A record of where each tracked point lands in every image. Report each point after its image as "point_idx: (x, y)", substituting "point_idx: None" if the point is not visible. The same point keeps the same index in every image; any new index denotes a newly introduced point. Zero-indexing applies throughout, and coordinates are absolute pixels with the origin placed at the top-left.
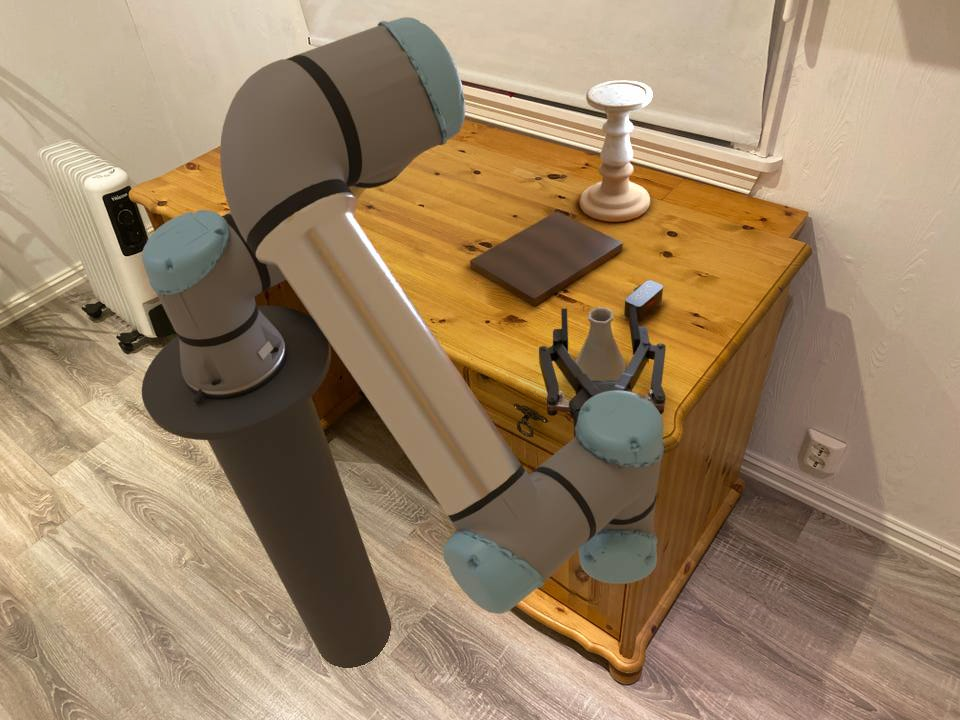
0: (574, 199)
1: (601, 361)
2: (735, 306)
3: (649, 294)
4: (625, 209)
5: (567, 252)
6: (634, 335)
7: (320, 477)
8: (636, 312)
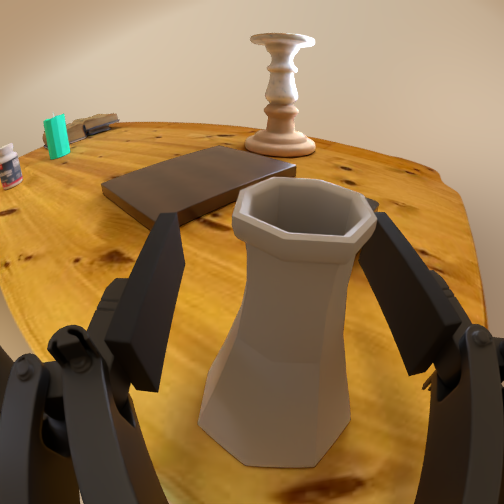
0: (240, 144)
1: (295, 412)
2: (456, 241)
3: None
4: (293, 145)
5: (224, 170)
6: (437, 307)
7: (2, 404)
8: (395, 226)
